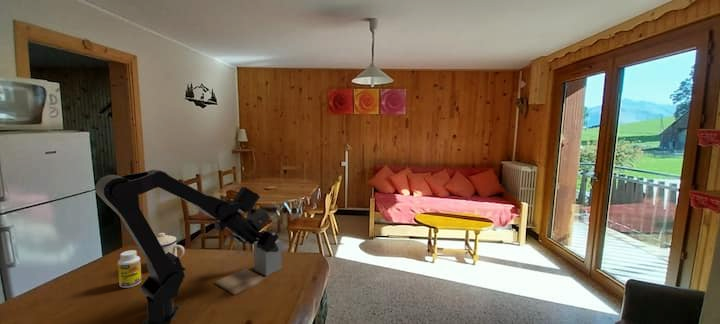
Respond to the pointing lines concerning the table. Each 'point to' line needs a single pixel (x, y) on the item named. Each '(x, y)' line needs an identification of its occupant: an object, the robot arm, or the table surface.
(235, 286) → the light tan board
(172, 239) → the teacup with lid
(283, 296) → the table surface
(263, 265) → the sharp-edged grey box
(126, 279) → the supplement bottle
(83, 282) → the table surface
